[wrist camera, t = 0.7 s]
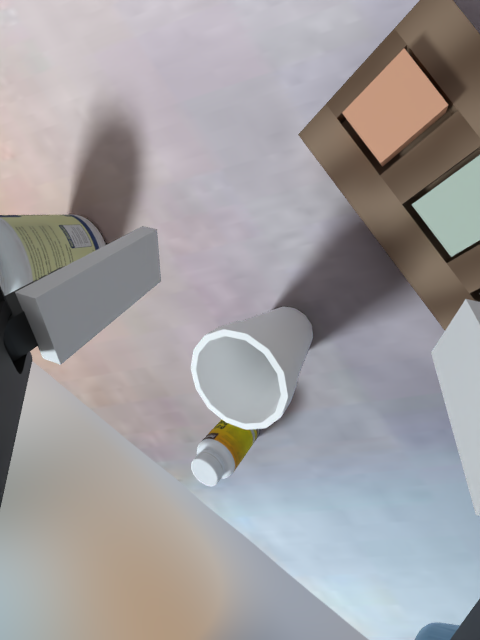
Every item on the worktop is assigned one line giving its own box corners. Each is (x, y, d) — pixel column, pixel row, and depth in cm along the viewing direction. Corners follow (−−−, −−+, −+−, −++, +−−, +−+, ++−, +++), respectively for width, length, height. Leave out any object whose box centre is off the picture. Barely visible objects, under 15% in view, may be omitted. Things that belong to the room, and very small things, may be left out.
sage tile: (521, 210, 21) (530, 210, 20) (448, 253, 24) (451, 256, 23) (479, 156, 22) (484, 151, 20) (411, 205, 25) (411, 204, 23)
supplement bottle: (241, 400, 43) (200, 446, 35) (267, 430, 42) (232, 484, 34) (221, 417, 46) (178, 462, 38) (245, 445, 45) (207, 498, 37)
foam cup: (310, 283, 33) (261, 317, 22) (338, 358, 34) (305, 425, 23) (242, 307, 38) (176, 344, 28) (268, 372, 39) (214, 431, 29)
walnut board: (666, 299, 21) (700, 311, 19) (478, 368, 28) (484, 384, 25) (434, 6, 22) (437, -20, 20) (307, 141, 29) (298, 134, 26)
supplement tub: (83, 197, 46) (-59, 191, 32) (124, 264, 46) (0, 287, 32) (55, 242, 53) (-73, 253, 39) (90, 301, 53) (-24, 332, 39)
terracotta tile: (445, 113, 22) (448, 104, 20) (382, 166, 25) (380, 163, 23) (404, 60, 22) (403, 48, 20) (346, 119, 25) (342, 112, 23)
